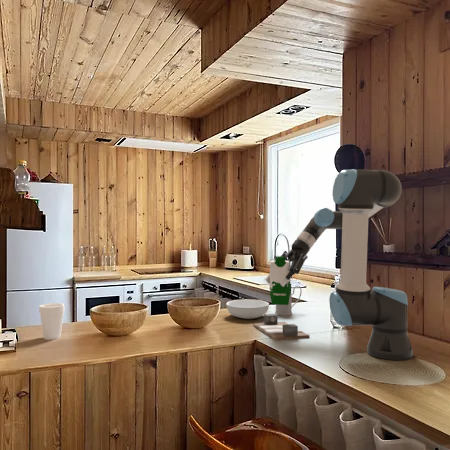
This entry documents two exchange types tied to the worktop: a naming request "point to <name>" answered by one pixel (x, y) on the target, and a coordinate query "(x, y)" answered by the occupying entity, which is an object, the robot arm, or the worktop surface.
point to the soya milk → (276, 273)
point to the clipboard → (279, 329)
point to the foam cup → (51, 320)
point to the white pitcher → (287, 308)
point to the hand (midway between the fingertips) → (273, 283)
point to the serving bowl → (247, 308)
